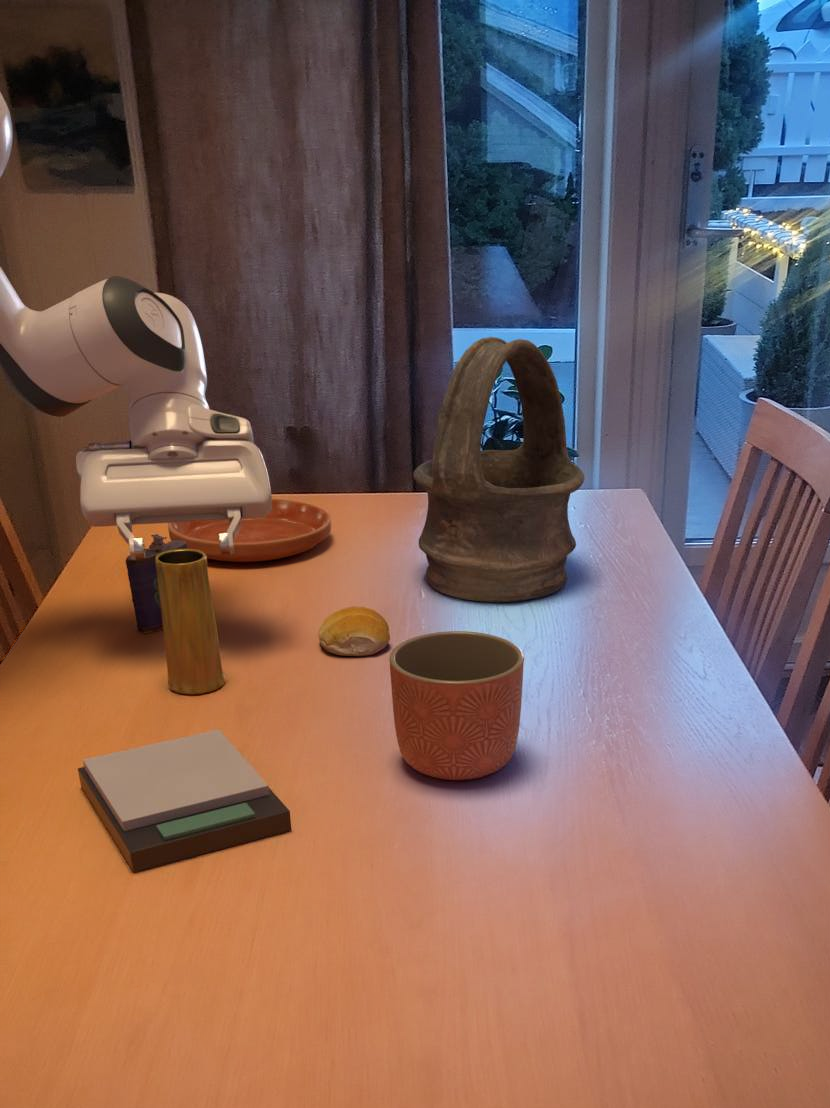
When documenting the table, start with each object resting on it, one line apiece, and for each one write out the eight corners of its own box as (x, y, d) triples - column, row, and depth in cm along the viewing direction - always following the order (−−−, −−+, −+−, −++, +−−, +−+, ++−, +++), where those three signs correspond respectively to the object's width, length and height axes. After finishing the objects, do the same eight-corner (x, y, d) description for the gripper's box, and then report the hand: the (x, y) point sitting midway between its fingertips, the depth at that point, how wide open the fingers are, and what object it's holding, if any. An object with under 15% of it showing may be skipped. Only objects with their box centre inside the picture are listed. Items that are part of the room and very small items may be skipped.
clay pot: (615, 585, 161) (631, 341, 146) (469, 621, 150) (469, 361, 135) (518, 542, 177) (522, 318, 161) (378, 571, 166) (368, 333, 150)
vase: (186, 700, 130) (168, 569, 123) (158, 682, 134) (139, 555, 127) (236, 685, 134) (221, 557, 126) (207, 668, 137) (191, 543, 130)
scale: (133, 872, 101) (128, 841, 100) (81, 787, 114) (75, 758, 112) (291, 830, 107) (289, 800, 105) (225, 753, 120) (222, 725, 118)
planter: (420, 802, 111) (418, 691, 106) (375, 746, 121) (370, 642, 115) (543, 776, 116) (547, 669, 110) (490, 724, 125) (490, 623, 120)
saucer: (201, 517, 187) (199, 493, 185) (348, 524, 184) (347, 499, 182) (146, 565, 168) (143, 539, 166) (309, 573, 165) (307, 546, 163)
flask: (186, 607, 154) (175, 523, 148) (203, 612, 152) (193, 527, 147) (131, 630, 147) (117, 543, 142) (149, 635, 146) (136, 547, 140)
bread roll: (387, 628, 148) (386, 596, 146) (391, 656, 141) (390, 623, 138) (318, 630, 147) (316, 598, 145) (319, 659, 140) (316, 626, 138)
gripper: (69, 427, 130) (77, 546, 127) (263, 419, 133) (276, 534, 130) (79, 460, 136) (87, 574, 133) (265, 451, 139) (277, 562, 136)
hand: (182, 554), depth 132 cm, fingers open, 8 cm apart
